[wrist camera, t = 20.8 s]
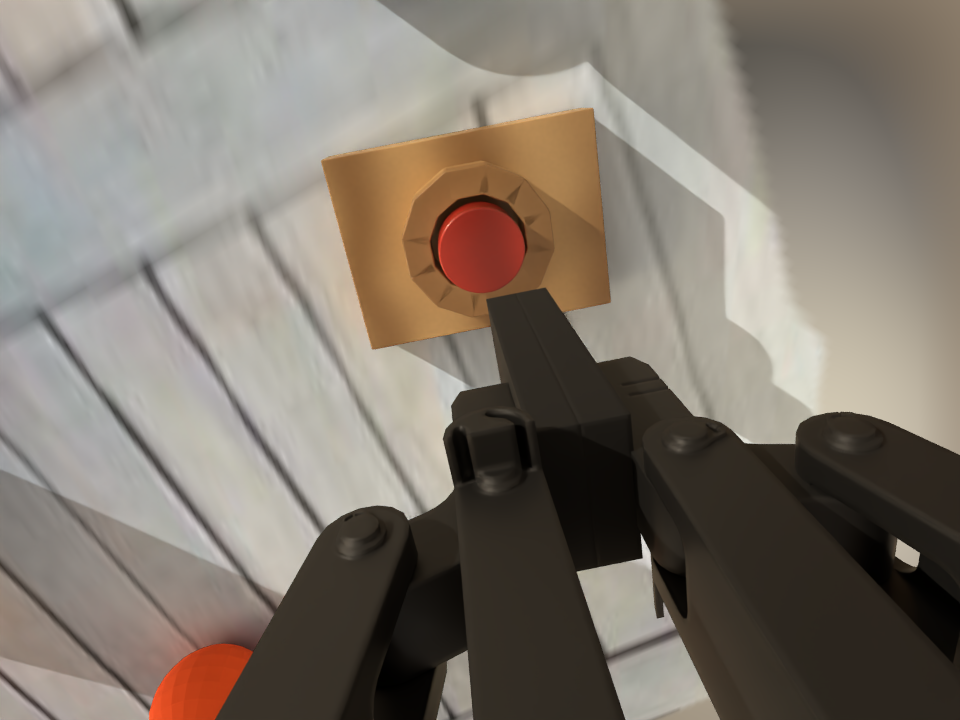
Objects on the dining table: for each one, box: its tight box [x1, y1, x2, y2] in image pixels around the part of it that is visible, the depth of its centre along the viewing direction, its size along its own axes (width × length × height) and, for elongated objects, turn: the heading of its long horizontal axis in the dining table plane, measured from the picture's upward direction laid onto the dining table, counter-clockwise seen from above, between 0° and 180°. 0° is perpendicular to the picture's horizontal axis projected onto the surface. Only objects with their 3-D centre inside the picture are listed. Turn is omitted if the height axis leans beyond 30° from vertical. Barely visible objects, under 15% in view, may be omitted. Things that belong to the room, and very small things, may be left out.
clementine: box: [149, 644, 253, 720], centre depth 36 cm, size 8×7×7 cm
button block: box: [321, 108, 611, 349], centre depth 28 cm, size 12×9×4 cm
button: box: [438, 201, 525, 293], centre depth 25 cm, size 4×4×2 cm
